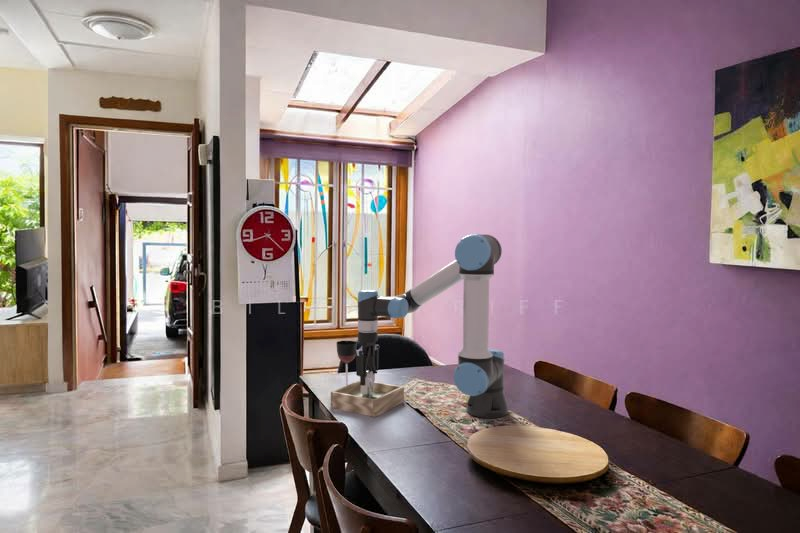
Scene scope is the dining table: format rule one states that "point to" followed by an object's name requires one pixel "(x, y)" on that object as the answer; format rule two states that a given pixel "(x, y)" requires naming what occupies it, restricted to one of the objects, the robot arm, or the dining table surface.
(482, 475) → the dining table surface
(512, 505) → the dining table surface
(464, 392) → the robot arm
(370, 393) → the peg
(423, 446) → the dining table surface
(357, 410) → the box
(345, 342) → the wineglass
